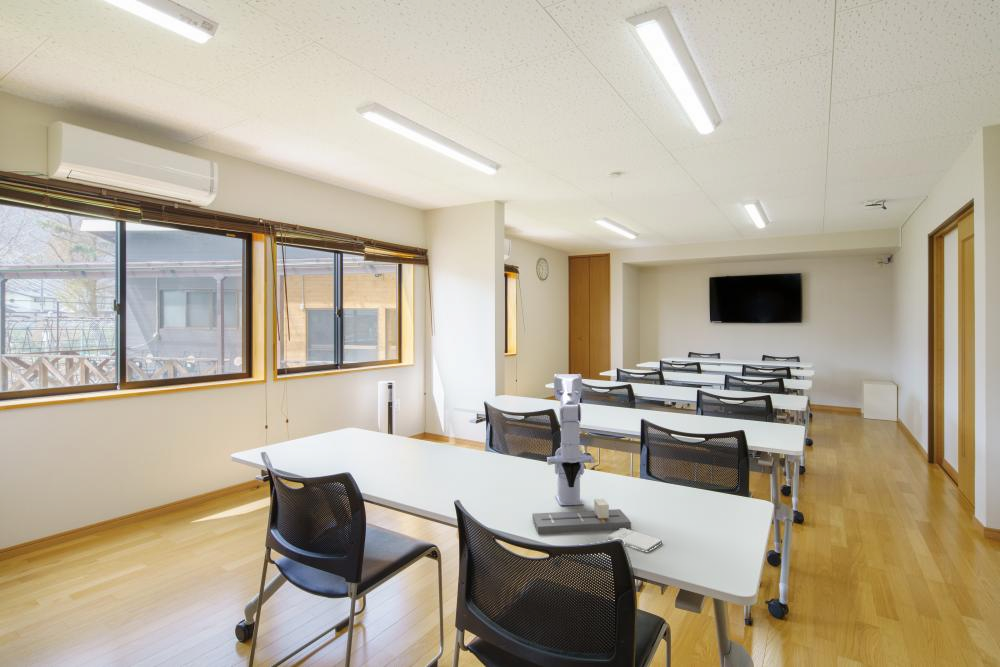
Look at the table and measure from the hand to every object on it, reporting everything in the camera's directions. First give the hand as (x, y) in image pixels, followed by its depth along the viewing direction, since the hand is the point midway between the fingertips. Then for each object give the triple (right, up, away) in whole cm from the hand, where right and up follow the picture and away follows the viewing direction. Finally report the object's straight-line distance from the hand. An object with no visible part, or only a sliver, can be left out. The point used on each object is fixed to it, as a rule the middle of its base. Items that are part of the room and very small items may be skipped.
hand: (570, 486), depth 159 cm
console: (+2, -11, -3) cm, 11 cm away
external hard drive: (+16, -12, -15) cm, 25 cm away
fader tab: (+9, -8, -3) cm, 12 cm away
